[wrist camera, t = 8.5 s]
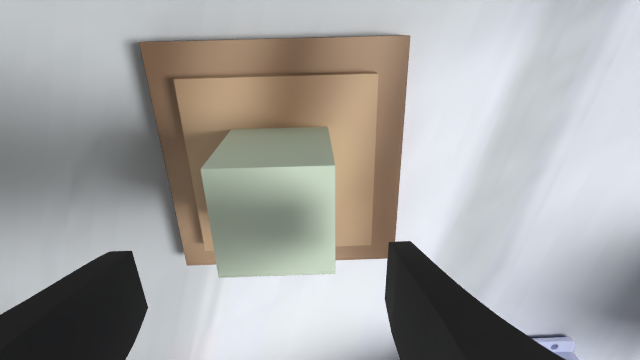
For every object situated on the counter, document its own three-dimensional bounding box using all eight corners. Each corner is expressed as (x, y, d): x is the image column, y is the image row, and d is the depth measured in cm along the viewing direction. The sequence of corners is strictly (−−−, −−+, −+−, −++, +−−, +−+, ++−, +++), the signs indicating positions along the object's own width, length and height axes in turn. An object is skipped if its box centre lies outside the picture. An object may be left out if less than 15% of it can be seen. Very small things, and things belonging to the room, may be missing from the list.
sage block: (328, 126, 16) (335, 165, 12) (328, 211, 18) (335, 273, 14) (231, 129, 16) (200, 169, 12) (241, 214, 18) (218, 277, 13)
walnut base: (403, 35, 17) (415, 36, 15) (389, 246, 22) (396, 266, 20) (150, 41, 16) (130, 43, 15) (193, 253, 21) (182, 274, 19)
